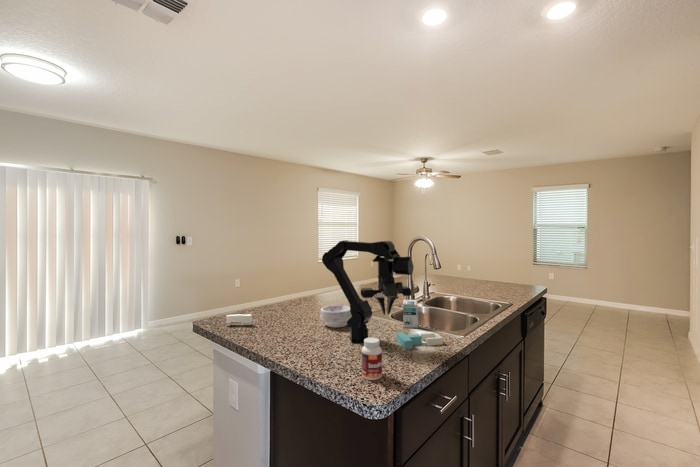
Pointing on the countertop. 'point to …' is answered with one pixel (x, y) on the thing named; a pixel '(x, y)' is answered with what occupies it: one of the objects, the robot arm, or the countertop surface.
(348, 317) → the paper bowls
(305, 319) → the countertop surface
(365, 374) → the pill bottle
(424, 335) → the t dock
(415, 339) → the t block
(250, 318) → the napkin holder
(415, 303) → the light bulb box
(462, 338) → the countertop surface
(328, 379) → the countertop surface
